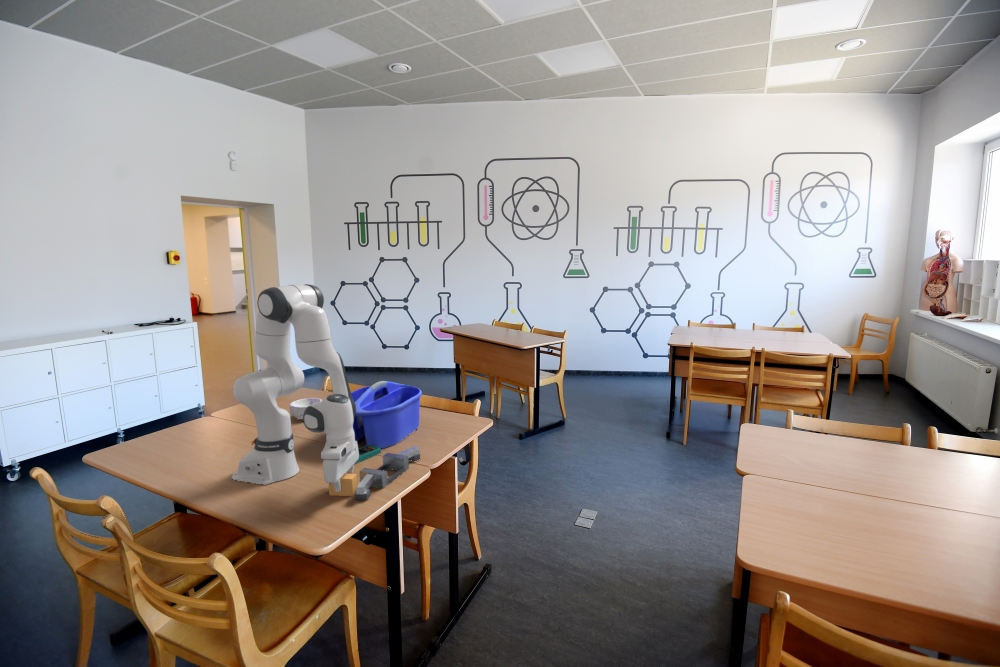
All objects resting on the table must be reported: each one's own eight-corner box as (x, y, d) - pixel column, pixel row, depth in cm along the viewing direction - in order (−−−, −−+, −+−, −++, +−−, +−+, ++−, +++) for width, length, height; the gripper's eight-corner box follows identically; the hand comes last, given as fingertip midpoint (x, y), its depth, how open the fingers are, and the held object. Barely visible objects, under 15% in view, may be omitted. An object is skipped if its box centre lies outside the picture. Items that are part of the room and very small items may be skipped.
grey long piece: (365, 502, 160) (364, 487, 160) (341, 498, 163) (340, 483, 163) (422, 458, 194) (421, 446, 194) (402, 455, 198) (401, 443, 197)
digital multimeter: (382, 453, 201) (382, 446, 201) (352, 466, 189) (351, 459, 189) (370, 450, 205) (369, 443, 205) (339, 462, 193) (339, 455, 193)
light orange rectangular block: (329, 495, 166) (328, 478, 165) (334, 490, 170) (333, 473, 169) (353, 496, 165) (351, 479, 164) (357, 490, 169) (356, 473, 168)
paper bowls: (283, 421, 242) (282, 405, 240) (304, 411, 256) (303, 396, 255) (310, 423, 237) (309, 407, 236) (330, 414, 252) (329, 398, 250)
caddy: (434, 420, 239) (432, 372, 236) (386, 456, 197) (383, 398, 194) (375, 415, 249) (373, 369, 245) (318, 448, 207) (314, 393, 203)
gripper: (344, 433, 175) (347, 470, 177) (318, 455, 155) (321, 498, 157) (362, 433, 174) (364, 471, 176) (337, 456, 154) (341, 498, 156)
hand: (344, 484), depth 167 cm, fingers open, 8 cm apart
